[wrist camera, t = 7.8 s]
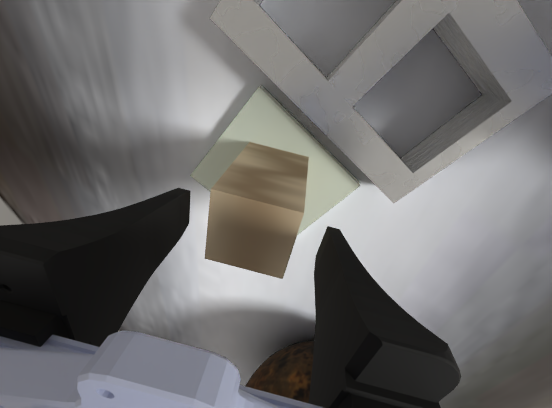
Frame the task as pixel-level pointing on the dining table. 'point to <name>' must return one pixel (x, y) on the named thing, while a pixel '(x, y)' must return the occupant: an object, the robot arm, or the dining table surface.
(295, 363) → the glass bottle
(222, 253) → the maple peg
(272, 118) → the ceramic tile
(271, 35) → the white flat frame
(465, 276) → the dining table surface
